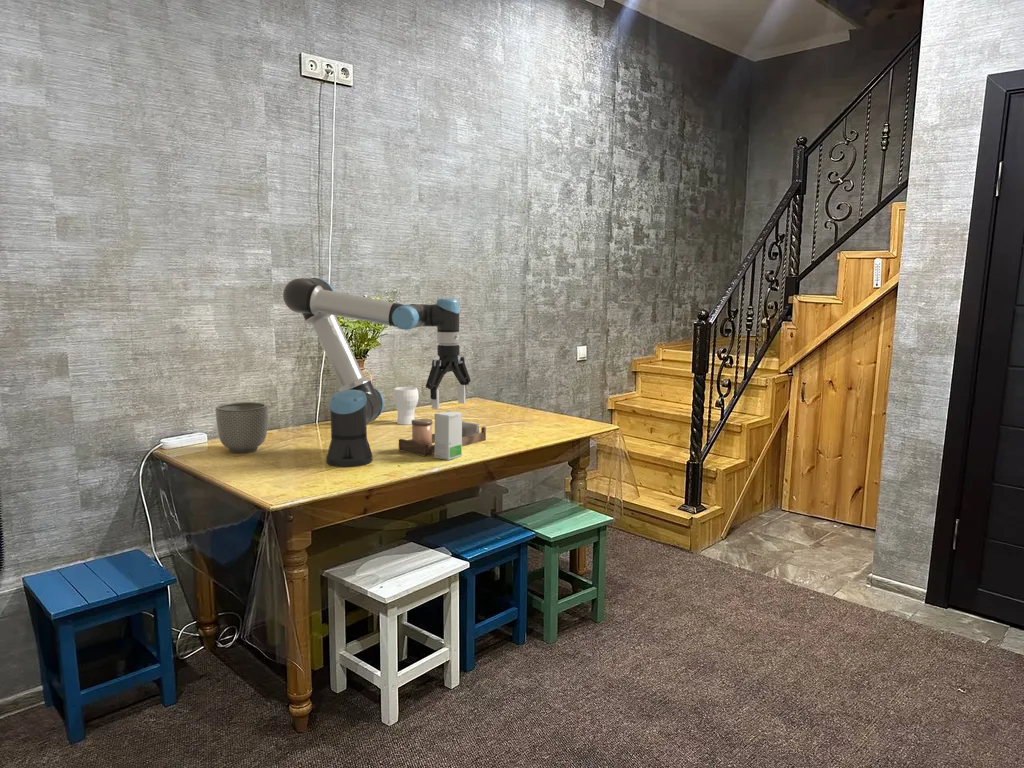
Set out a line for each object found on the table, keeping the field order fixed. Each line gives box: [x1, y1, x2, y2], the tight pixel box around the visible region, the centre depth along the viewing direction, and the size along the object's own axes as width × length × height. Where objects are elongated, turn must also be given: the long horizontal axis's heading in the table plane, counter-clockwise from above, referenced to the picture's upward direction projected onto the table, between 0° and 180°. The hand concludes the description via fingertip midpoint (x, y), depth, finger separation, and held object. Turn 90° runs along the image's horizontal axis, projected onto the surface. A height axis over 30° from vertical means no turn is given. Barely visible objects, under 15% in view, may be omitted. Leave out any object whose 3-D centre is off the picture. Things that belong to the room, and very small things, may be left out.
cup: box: [392, 386, 420, 426], centre depth 300 cm, size 11×11×15 cm
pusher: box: [462, 421, 480, 437], centre depth 275 cm, size 5×10×6 cm, turn 53°
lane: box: [398, 426, 487, 457], centre depth 263 cm, size 33×13×5 cm, turn 143°
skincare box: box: [433, 410, 463, 461], centre depth 245 cm, size 8×7×16 cm
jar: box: [411, 418, 433, 446], centre depth 253 cm, size 7×7×11 cm
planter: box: [215, 401, 269, 454], centre depth 249 cm, size 17×17×16 cm
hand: (448, 405), depth 243 cm, fingers open, 13 cm apart
